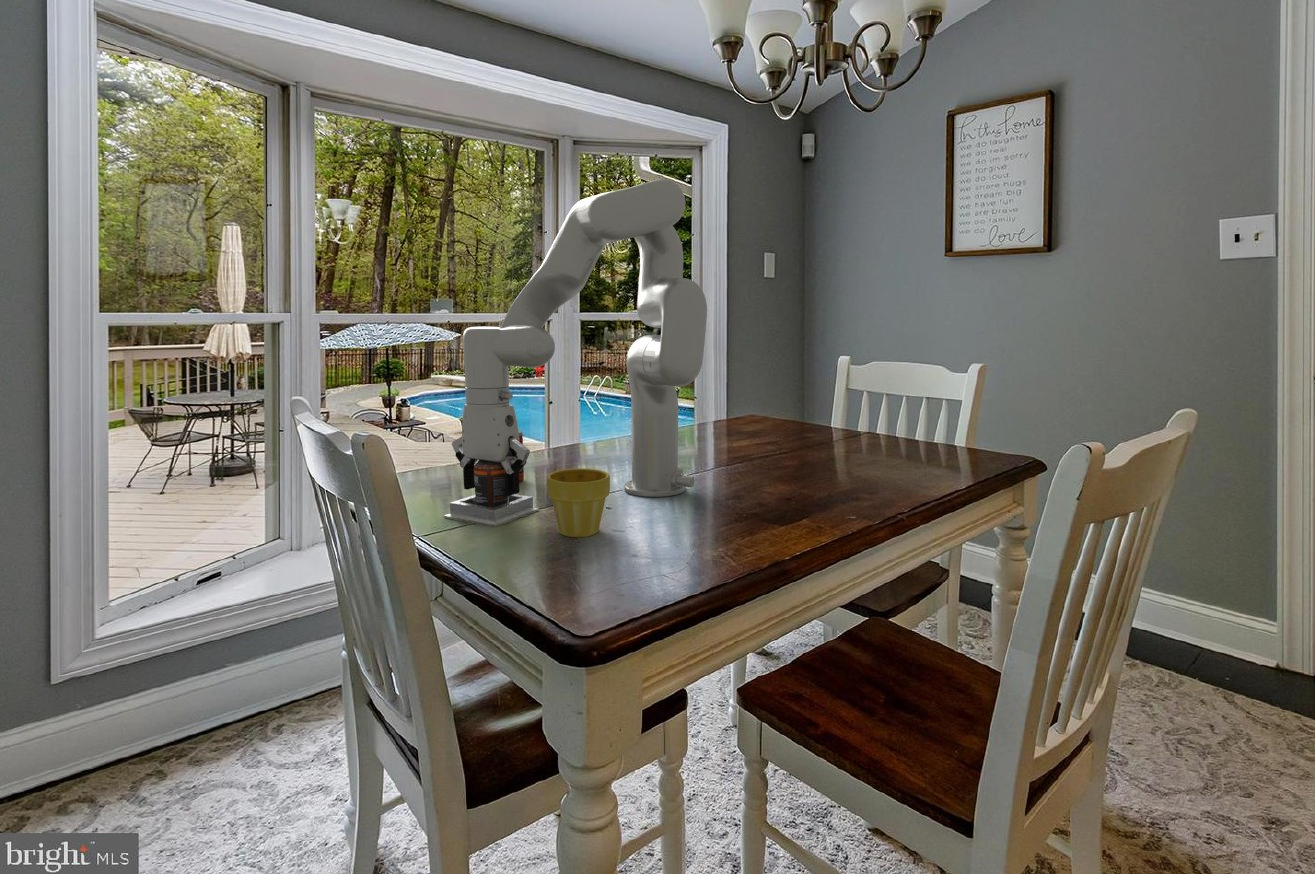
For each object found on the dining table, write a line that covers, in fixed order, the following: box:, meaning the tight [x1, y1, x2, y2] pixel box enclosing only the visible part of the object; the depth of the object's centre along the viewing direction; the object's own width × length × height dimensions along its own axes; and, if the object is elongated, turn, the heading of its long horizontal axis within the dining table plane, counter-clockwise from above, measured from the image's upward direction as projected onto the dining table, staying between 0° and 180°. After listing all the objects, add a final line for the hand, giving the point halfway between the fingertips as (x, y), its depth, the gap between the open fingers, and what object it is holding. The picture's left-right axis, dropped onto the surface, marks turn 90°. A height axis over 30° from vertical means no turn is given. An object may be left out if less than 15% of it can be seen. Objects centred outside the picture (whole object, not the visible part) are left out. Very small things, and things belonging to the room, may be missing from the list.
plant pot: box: [546, 467, 611, 538], centre depth 122 cm, size 10×10×10 cm
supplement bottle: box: [474, 460, 509, 508], centre depth 133 cm, size 6×6×11 cm
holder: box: [443, 493, 540, 528], centre depth 133 cm, size 12×12×3 cm
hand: (491, 491), depth 133 cm, fingers open, 9 cm apart
